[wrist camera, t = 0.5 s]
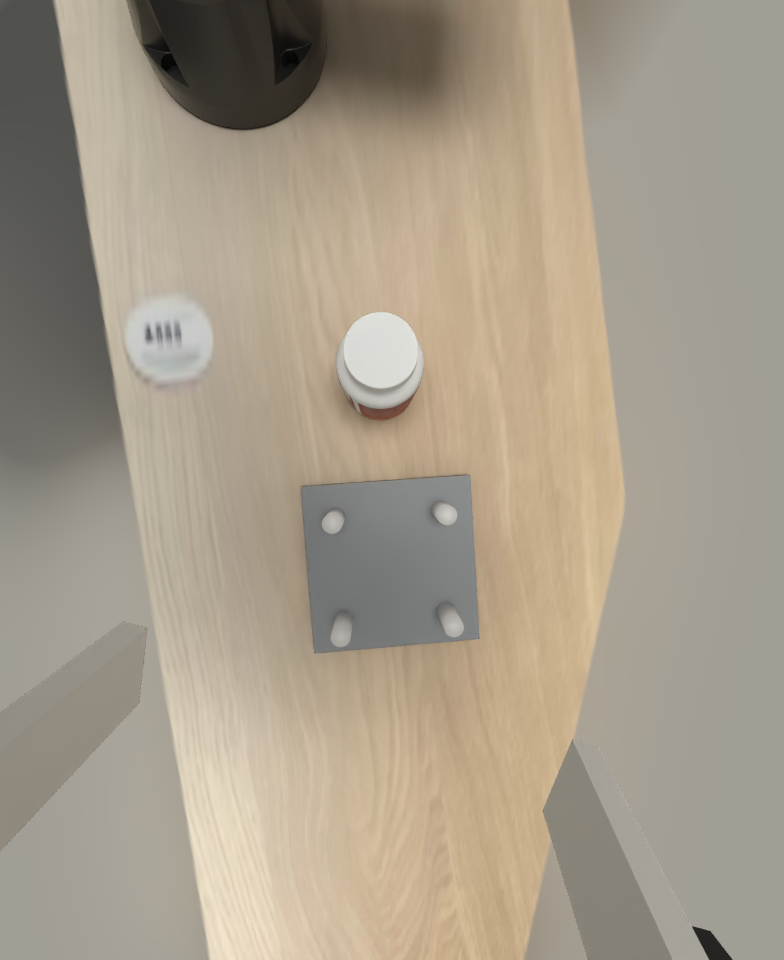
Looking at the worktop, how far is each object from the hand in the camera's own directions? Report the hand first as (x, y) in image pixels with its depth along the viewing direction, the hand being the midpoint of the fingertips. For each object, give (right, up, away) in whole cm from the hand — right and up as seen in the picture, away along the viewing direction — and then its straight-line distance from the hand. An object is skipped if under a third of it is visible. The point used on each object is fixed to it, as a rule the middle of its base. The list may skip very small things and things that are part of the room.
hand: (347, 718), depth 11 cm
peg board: (+1, 0, +23) cm, 23 cm away
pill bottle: (0, +16, +23) cm, 28 cm away
